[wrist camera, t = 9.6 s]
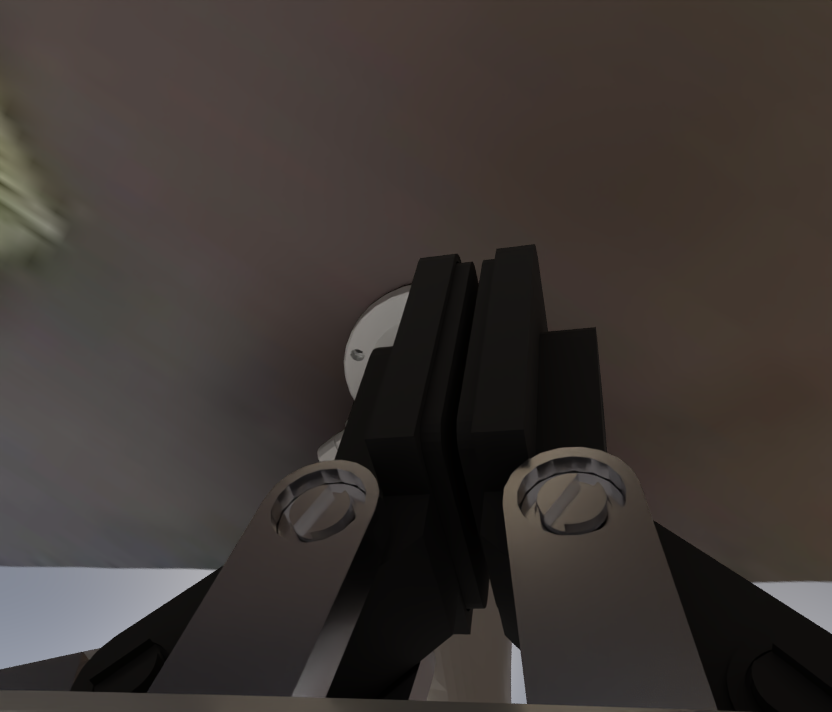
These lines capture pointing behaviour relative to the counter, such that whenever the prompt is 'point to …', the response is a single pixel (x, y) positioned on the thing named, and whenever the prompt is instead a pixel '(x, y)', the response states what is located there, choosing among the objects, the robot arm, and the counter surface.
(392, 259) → the counter surface
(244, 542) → the robot arm
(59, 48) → the counter surface
